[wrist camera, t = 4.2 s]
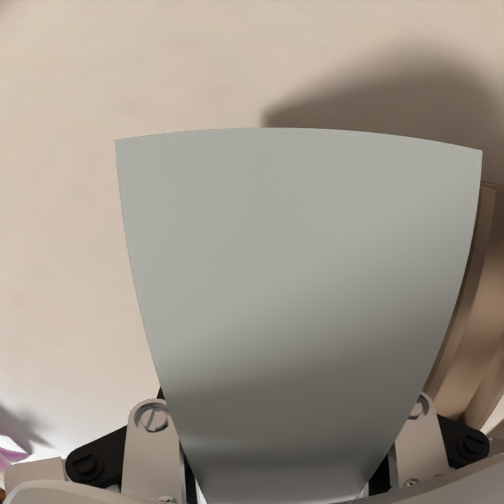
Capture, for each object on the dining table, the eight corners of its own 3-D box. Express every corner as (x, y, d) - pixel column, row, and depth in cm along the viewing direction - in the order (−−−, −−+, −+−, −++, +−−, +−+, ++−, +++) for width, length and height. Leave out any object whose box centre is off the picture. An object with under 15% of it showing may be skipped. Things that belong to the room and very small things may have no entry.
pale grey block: (212, 135, 9) (114, 139, 3) (336, 135, 9) (482, 151, 3) (233, 424, 14) (226, 540, 8) (308, 422, 14) (323, 536, 8)
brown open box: (440, 176, 11) (482, 188, 8) (533, 191, 11) (569, 204, 8) (373, 435, 17) (384, 468, 14) (457, 414, 17) (472, 440, 14)
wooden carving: (26, 506, 42) (17, 527, 33) (27, 507, 43) (18, 528, 34) (-17, 475, 39) (-27, 495, 30) (-15, 478, 40) (-25, 497, 31)
